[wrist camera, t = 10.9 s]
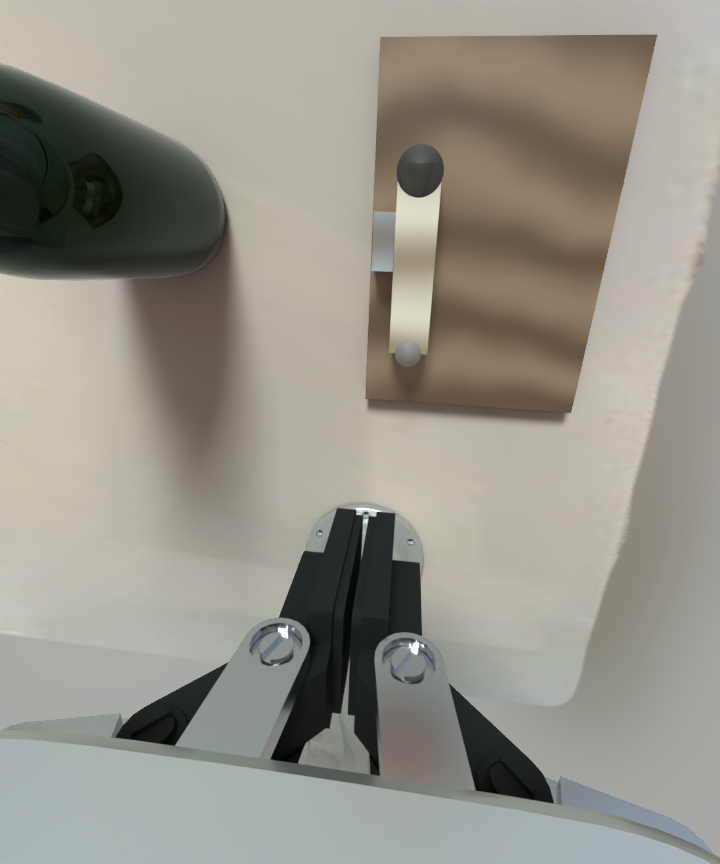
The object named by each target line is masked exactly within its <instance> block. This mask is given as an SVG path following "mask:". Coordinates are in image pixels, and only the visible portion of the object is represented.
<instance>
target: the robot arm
mask: <svg viewBox="0 0 720 864" xmlns="http://www.w3.org/2000/svg"><path fill="white" fill-rule="evenodd" d="M422 568H423V550H422V545H421V542H420V539H419V537H418V535H417V534H416V532H415V530H414V529H413V528H412V526H411V525H410V524H409V523H408V522H407V521H406V520H405V519H403V518H402V517H400V516H399V515H398V514H396V513H394V512H392V511H390V510H388V509H386V508H382V507H379V506H376V505H369V504H352V505H347V506H342V507H340V508H337V509H335V510H332V511H331V512H329V513H328V514H326V515H325V516H323V517H322V518H321V519H320V520H319V521H318V522H317V523H316V525H315V526H314V528H313V530H312V531H311V534H310V537H309V539H308V543H307V548H306V551H305V552H304V553H303V555H302V557H301V560H300V563H299V565H298V568H297V571H296V573H295V576H294V579H293V581H292V584H291V587H290V589H289V592H288V595H287V597H286V600H285V603H284V605H283V608H282V611H281V613H280V616H279V618H274V619H269V620H266V621H263V622H261V623H259V624H258V625H256V626H255V627H253V628H252V629H251V630H250V631H249V633H248V634H247V635H246V636H245V638H244V639H243V641H242V642H241V644H240V646H239V647H238V649H237V650H236V652H235V653H234V655H233V656H232V658H231V660H230V661H229V662H228V663H226V664H224V665H222V666H221V667H219V668H217V669H215V670H213V671H211V672H209V673H208V674H206V675H204V676H202V677H200V678H198V679H196V680H194V681H193V682H191V683H189V684H187V685H185V686H183V687H181V688H180V689H178V690H176V691H174V692H172V693H170V694H168V695H166V696H165V697H163V698H161V699H159V700H157V701H155V702H153V703H151V704H150V705H148V706H146V707H144V708H143V709H141V710H140V711H138V712H137V713H135V714H134V715H133V716H132V717H131V718H130V719H121V714H111V715H100V716H89V717H79V718H69V719H58V720H47V721H36V722H26V723H21V724H17V725H13V726H10V727H8V728H6V729H4V730H2V731H0V864H720V857H718V856H716V855H714V854H713V853H712V851H711V850H710V849H709V848H708V847H707V845H706V844H705V843H704V841H703V840H702V839H701V838H699V837H698V836H697V835H696V834H695V833H694V832H692V831H691V830H690V829H689V828H688V827H686V826H684V825H683V824H681V823H679V822H677V821H675V820H673V819H671V818H669V817H667V816H664V815H661V814H659V813H656V812H653V811H651V810H648V809H645V808H643V807H640V806H637V805H635V804H632V803H629V802H627V801H624V800H621V799H619V798H616V797H613V796H610V795H608V794H606V793H603V792H600V791H598V790H595V789H592V788H590V787H587V786H584V785H581V784H579V783H576V782H574V781H571V780H568V779H566V778H563V777H560V779H559V782H556V781H554V780H551V779H548V778H546V777H544V776H543V774H542V772H541V771H540V770H539V769H538V768H537V767H536V766H535V764H534V763H533V762H532V761H531V760H530V759H529V758H528V757H527V756H526V755H525V754H524V753H522V752H521V751H520V750H519V749H518V748H517V747H516V746H515V745H514V744H513V743H512V742H511V741H510V740H509V739H508V738H506V737H505V736H504V735H503V734H502V733H501V732H500V731H499V730H498V729H497V728H496V727H495V726H494V725H493V724H492V723H491V722H490V721H488V720H487V719H486V718H485V717H484V716H483V715H482V714H481V713H480V712H479V711H478V710H477V709H476V708H475V707H474V706H472V705H471V704H470V703H469V702H468V701H467V700H466V699H465V698H464V697H463V696H462V695H461V694H460V693H459V692H458V691H457V690H455V689H454V688H453V687H452V686H451V685H450V684H449V682H448V678H447V674H446V670H445V666H444V662H443V659H442V657H441V654H440V652H439V650H438V649H437V648H436V647H435V645H434V644H433V643H432V642H430V641H429V640H427V639H426V638H425V637H422V622H421V583H420V575H421V572H422Z"/></svg>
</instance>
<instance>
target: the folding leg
mask: <svg viewBox="0 0 720 864" xmlns="http://www.w3.org/2000/svg"><path fill="white" fill-rule="evenodd" d="M443 174H444V164H443V160H442V157H441V155H440V154H439V152H438V151H437V150H436V149H435V148H434V147H432V146H430V145H427V144H417V145H414V146H412V147H410V148H408V149H407V150H406V151H405V152H404V153H403V154H402V156H401V158H400V160H399V162H398V165H397V180H398V183H397V203H396V223H395V243H394V263H393V283H392V303H391V322H390V342H389V353H395V357H396V360H397V362H398V363H399V364H400V365H402V366H404V367H411V366H414V365H415V364H417V363H418V361H419V360H420V357H421V354H425V355H427V351H428V338H429V326H430V314H431V302H432V290H433V278H434V266H435V254H436V242H437V230H438V218H439V206H440V194H441V182H442V178H443Z"/></svg>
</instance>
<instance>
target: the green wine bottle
mask: <svg viewBox="0 0 720 864" xmlns="http://www.w3.org/2000/svg"><path fill="white" fill-rule="evenodd" d="M224 225H225V211H224V203H223V199H222V194H221V191H220V188H219V186H218V183H217V181H216V179H215V177H214V175H213V174H212V172H211V170H210V169H209V167H208V166H207V165H206V164H205V162H204V161H203V160H202V159H201V158H200V157H199V156H198V155H197V154H196V153H195V152H193V151H192V150H191V149H190V148H188V147H187V146H185V145H184V144H182V143H180V142H179V141H177V140H175V139H173V138H171V137H169V136H167V135H165V134H163V133H161V132H159V131H157V130H155V129H153V128H151V127H149V126H147V125H145V124H143V123H140V122H138V121H136V120H134V119H132V118H130V117H128V116H125V115H123V114H121V113H119V112H117V111H115V110H113V109H110V108H108V107H106V106H104V105H102V104H100V103H97V102H95V101H93V100H91V99H89V98H87V97H84V96H82V95H80V94H78V93H76V92H73V91H71V90H69V89H67V88H65V87H63V86H60V85H58V84H55V83H53V82H50V81H48V80H45V79H43V78H40V77H38V76H35V75H33V74H30V73H28V72H25V71H23V70H20V69H18V68H15V67H12V66H9V65H5V64H2V63H0V274H2V275H8V276H13V277H18V278H25V279H39V280H72V281H82V280H118V279H148V278H167V277H175V276H181V275H187V274H190V273H192V272H195V271H197V270H199V269H200V268H202V267H203V266H204V265H206V264H207V263H208V262H209V261H210V259H211V258H212V257H213V256H214V254H215V253H216V251H217V249H218V247H219V246H220V242H221V239H222V236H223V232H224Z"/></svg>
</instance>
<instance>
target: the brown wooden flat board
mask: <svg viewBox="0 0 720 864" xmlns="http://www.w3.org/2000/svg"><path fill="white" fill-rule="evenodd" d="M656 38H657V35H559V36H446V37H381V40H380V64H379V88H378V112H377V136H376V160H375V184H374V208H373V232H372V256H371V280H370V304H369V328H368V352H367V376H366V399H373V400H388V401H403V402H418V403H433V404H448V405H462V406H477V407H492V408H507V409H522V410H537V411H551V412H566V413H571V410H572V406H573V402H574V397H575V393H576V389H577V384H578V380H579V375H580V371H581V367H582V362H583V358H584V353H585V349H586V345H587V340H588V336H589V331H590V327H591V323H592V318H593V314H594V310H595V305H596V301H597V296H598V292H599V288H600V283H601V279H602V274H603V270H604V266H605V261H606V257H607V253H608V248H609V244H610V239H611V235H612V231H613V226H614V222H615V217H616V213H617V209H618V204H619V200H620V195H621V191H622V187H623V182H624V178H625V174H626V169H627V165H628V160H629V156H630V152H631V147H632V143H633V138H634V134H635V130H636V125H637V121H638V117H639V112H640V108H641V103H642V99H643V95H644V90H645V86H646V81H647V77H648V73H649V68H650V64H651V59H652V55H653V51H654V46H655V42H656ZM417 144H427V145H430V146H432V147H434V148H435V149H436V150H437V151H438V152H439V154H440V155H441V157H442V160H443V164H444V174H443V178H442V182H441V194H440V206H439V218H438V230H437V242H436V254H435V266H434V278H433V290H432V302H431V314H430V326H429V338H428V351H427V355H425V354H421V357H420V360H419V361H418V363H417V364H415V365H414V366H411V367H404V366H402V365H400V364H399V363H398V362H397V360H396V357H395V353H389V342H390V322H391V303H392V283H393V263H394V243H395V223H396V203H397V183H398V180H397V165H398V162H399V160H400V158H401V156H402V154H403V153H404V152H405V151H406V150H407V149H408V148H410V147H412V146H414V145H417Z"/></svg>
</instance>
